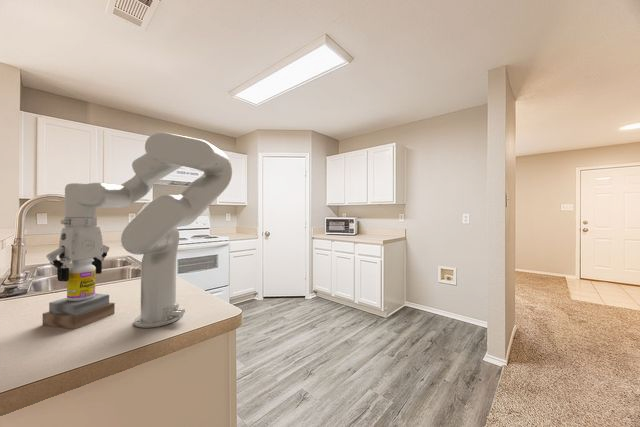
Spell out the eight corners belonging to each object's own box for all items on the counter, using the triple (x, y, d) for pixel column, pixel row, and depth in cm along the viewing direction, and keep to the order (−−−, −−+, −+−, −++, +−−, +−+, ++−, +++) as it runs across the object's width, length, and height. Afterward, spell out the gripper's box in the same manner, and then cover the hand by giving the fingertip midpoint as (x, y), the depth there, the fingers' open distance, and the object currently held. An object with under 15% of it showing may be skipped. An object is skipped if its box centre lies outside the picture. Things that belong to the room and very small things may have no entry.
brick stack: (114, 313, 88) (114, 294, 88) (74, 329, 76) (74, 306, 76) (85, 310, 90) (85, 291, 90) (42, 325, 78) (42, 303, 78)
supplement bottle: (78, 302, 79) (78, 260, 79) (61, 301, 80) (61, 259, 80) (100, 295, 86) (101, 256, 86) (84, 294, 87) (84, 255, 87)
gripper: (58, 224, 74) (58, 285, 74) (117, 222, 90) (116, 271, 91) (37, 223, 75) (37, 283, 75) (99, 221, 92) (99, 270, 92)
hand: (81, 277), depth 83 cm, fingers open, 9 cm apart
